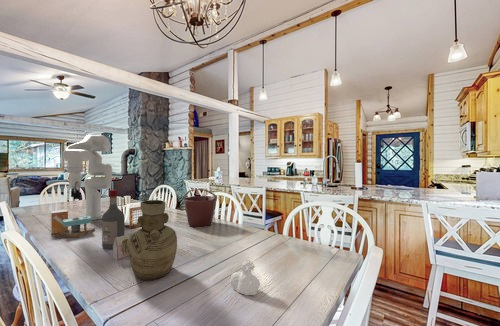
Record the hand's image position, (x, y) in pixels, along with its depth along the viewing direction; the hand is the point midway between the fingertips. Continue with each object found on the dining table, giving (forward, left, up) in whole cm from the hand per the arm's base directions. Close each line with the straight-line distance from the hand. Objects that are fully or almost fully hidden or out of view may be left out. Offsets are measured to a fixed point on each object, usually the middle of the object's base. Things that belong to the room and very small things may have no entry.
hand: (75, 197), depth 143 cm
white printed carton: (+31, +46, -22) cm, 60 cm away
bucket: (-25, +71, -22) cm, 79 cm away
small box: (-3, -13, -22) cm, 26 cm away
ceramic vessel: (+46, +67, -22) cm, 84 cm away
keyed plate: (0, 0, -16) cm, 16 cm away
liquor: (+18, +34, -22) cm, 45 cm away
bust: (+57, +106, -22) cm, 123 cm away
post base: (0, 0, -22) cm, 22 cm away
